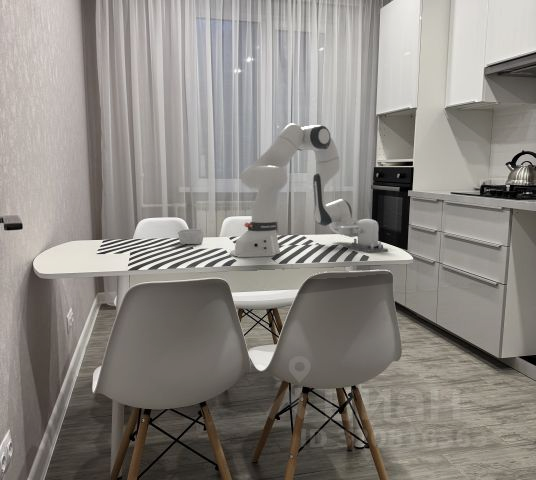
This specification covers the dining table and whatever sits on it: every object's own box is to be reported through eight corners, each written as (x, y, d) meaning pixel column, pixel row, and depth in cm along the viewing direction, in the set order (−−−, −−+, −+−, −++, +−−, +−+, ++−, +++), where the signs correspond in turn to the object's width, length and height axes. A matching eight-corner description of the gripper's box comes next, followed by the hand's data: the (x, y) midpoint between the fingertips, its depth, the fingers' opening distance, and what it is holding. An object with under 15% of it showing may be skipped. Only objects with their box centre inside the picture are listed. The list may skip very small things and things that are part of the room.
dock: (368, 252, 209) (369, 244, 208) (347, 247, 225) (347, 238, 225) (387, 251, 213) (387, 242, 212) (365, 245, 229) (365, 237, 229)
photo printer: (356, 244, 222) (356, 218, 220) (362, 243, 224) (362, 217, 222) (373, 247, 214) (374, 220, 212) (379, 246, 216) (380, 219, 214)
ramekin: (173, 245, 237) (172, 231, 236) (185, 241, 250) (184, 228, 249) (197, 246, 234) (197, 232, 233) (208, 242, 246) (207, 229, 245)
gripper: (332, 222, 226) (347, 225, 214) (368, 220, 234) (385, 223, 221) (332, 235, 227) (347, 239, 215) (368, 233, 235) (385, 236, 222)
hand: (367, 231), depth 218 cm, fingers open, 5 cm apart
